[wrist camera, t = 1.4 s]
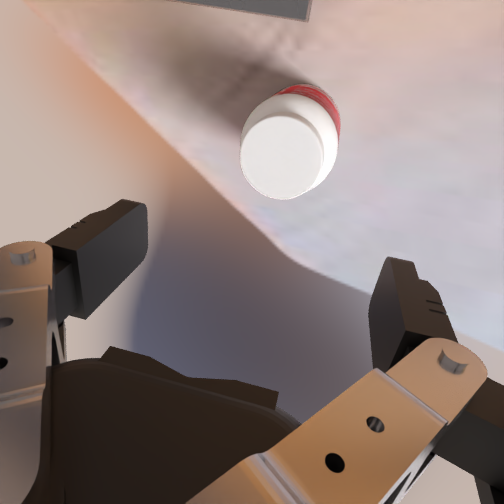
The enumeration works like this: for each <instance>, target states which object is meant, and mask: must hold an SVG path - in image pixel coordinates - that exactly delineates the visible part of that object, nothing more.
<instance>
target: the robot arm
mask: <svg viewBox="0 0 504 504" xmlns="http://www.w3.org/2000/svg"><path fill="white" fill-rule="evenodd" d="M147 249H148V222H147V207H146V205H145V204H143V203H139V202H134V201H130V200H125V199H121V200H119V201H118V202H117V203H115V204H113V205H112V206H110V207H109V208H107V209H106V210H102V211H98V212H95V213H92V214H89V215H88V216H86V217H85V218H83V219H82V220H80V222H77V223H76V224H74V225H72V226H71V228H67V229H66V230H64V231H62V232H61V233H59V234H58V235H56V236H54V237H53V238H51V239H50V240H48V241H47V242H45V243H42V242H36V241H23V242H16V243H12V244H8V245H6V246H3V247H1V248H0V504H399V503H400V501H401V500H402V499H403V497H404V496H405V495H406V494H407V492H408V491H409V490H410V489H411V487H412V486H413V485H414V484H415V482H416V481H417V480H418V478H419V477H420V476H421V475H422V473H423V472H424V471H425V470H426V468H427V467H428V466H429V464H430V463H431V462H432V461H433V459H434V458H435V457H436V456H437V455H438V456H440V457H442V458H444V459H445V460H447V461H449V462H451V463H452V464H454V465H456V466H458V467H459V468H461V469H463V470H465V471H466V472H468V473H470V474H472V475H473V476H474V478H475V482H476V486H477V490H478V494H479V498H480V502H481V504H504V385H501V384H499V383H497V382H495V381H493V380H491V379H490V378H488V377H487V369H486V367H485V365H484V364H483V362H482V361H481V359H480V358H479V357H478V356H477V355H476V354H475V353H473V352H472V351H471V350H469V349H468V348H466V347H464V346H463V345H461V344H459V343H458V341H457V338H456V336H455V333H454V331H453V328H452V326H451V323H450V321H449V318H448V315H446V310H445V308H444V306H442V305H443V303H442V300H441V298H440V295H439V292H438V291H437V290H436V289H435V288H434V287H433V286H432V285H431V284H430V283H429V282H428V281H425V280H421V279H419V277H418V274H417V271H416V268H415V265H414V263H413V262H411V261H407V260H402V259H397V258H393V257H387V258H386V260H385V262H384V264H383V267H382V269H381V272H380V275H379V278H378V281H377V283H376V286H375V289H374V292H373V294H372V297H371V301H370V305H369V313H368V314H369V315H368V317H369V328H370V338H371V339H370V340H371V351H372V362H373V370H372V371H370V372H369V373H368V374H366V375H365V376H364V377H363V378H362V379H360V380H359V381H357V382H356V383H355V384H354V385H352V386H351V387H350V388H348V389H347V390H346V391H345V392H343V393H342V394H341V395H339V396H338V397H337V398H335V399H334V400H333V401H332V402H330V403H329V404H328V405H326V406H325V407H324V408H323V409H321V410H320V411H319V412H317V413H316V414H315V415H314V416H312V417H311V418H310V419H308V420H307V421H306V422H305V423H303V424H301V423H300V422H298V421H297V420H296V419H295V418H294V417H293V416H291V415H290V414H288V413H287V412H285V411H284V410H282V409H280V408H279V407H277V406H276V403H277V398H278V393H279V392H277V391H273V390H270V389H266V388H262V387H259V386H255V385H251V384H248V383H244V382H240V381H237V380H224V379H206V378H191V377H186V376H184V375H182V374H180V373H178V372H176V371H175V370H173V369H171V368H169V367H167V366H165V365H164V364H162V363H160V362H158V361H156V360H155V359H152V358H151V357H149V356H145V355H141V354H138V353H134V352H130V351H127V350H123V349H119V348H116V347H112V346H110V347H109V348H108V350H107V351H106V352H105V353H104V354H103V356H102V357H101V358H87V359H78V360H72V361H68V362H67V355H66V328H65V322H64V319H66V318H67V317H68V316H69V315H70V316H74V317H78V318H81V319H85V320H86V319H87V318H88V317H89V316H90V315H91V314H92V313H93V312H94V311H95V309H96V308H97V307H98V306H99V305H100V304H101V303H102V302H103V301H104V300H105V299H106V298H107V297H108V296H109V295H110V294H111V293H112V292H113V291H114V290H115V289H116V288H117V287H118V286H119V285H120V284H121V283H122V282H123V281H124V280H125V279H126V278H127V277H128V276H129V275H130V274H131V273H132V272H133V271H134V270H135V269H136V268H137V267H138V265H139V264H140V263H141V262H142V261H143V260H144V258H145V255H146V253H147Z"/></svg>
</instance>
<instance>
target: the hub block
mask: <svg viewBox="0 0 504 504" xmlns="http://www.w3.org/2000/svg"><path fill="white" fill-rule="evenodd" d="M168 1H175V2H181V3H188V4H194V5H201V6H207V7H213V8H220V9H226V10H233V11H239V12H246V13H252V14H258V15H265V16H271V17H278V18H284V19H291V20H297V21H303V22H308V20H309V15H310V10H311V4H312V0H168Z"/></svg>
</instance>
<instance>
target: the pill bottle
mask: <svg viewBox="0 0 504 504" xmlns="http://www.w3.org/2000/svg"><path fill="white" fill-rule="evenodd" d="M340 125H341V122H340V115H339V111H338V108H337V106H336V104H335V102H334V101H333V99H332V98H331V97H330V96H329V95H328V94H327V93H326V92H325V91H323V90H322V89H320V88H318V87H316V86H313V85H308V84H298V85H293V86H290V87H287V88H285V89H283V90H281V91H280V92H278V93H276V94H275V95H273V96H271V97H270V98H268V99H267V100H265V101H264V102H262V103H261V104H260V105H258V106H257V107H256V108H255V109H254V110H253V112H252V113H251V114H250V115H249V117H248V119H247V121H246V122H245V125H244V127H243V130H242V134H241V140H240V165H241V169H242V172H243V174H244V176H245V178H246V180H247V181H248V183H249V184H250V185H251V186H252V187H253V188H254V189H255V190H256V191H258V192H259V193H261V194H262V195H264V196H267V197H269V198H273V199H283V200H284V199H291V198H295V197H297V196H299V195H301V194H303V193H305V192H306V191H309V190H311V189H312V188H314V187H316V186H317V185H318V184H319V183H321V182H322V181H323V180H324V179H325V178H326V176H327V175H328V174H329V172H330V171H331V169H332V167H333V165H334V162H335V160H336V156H337V152H338V144H339V135H340Z"/></svg>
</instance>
